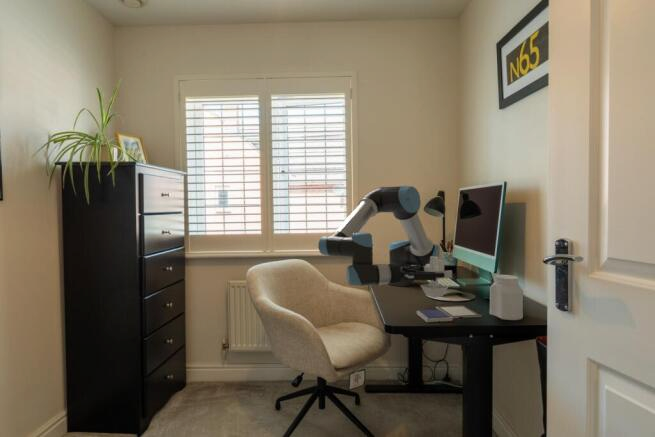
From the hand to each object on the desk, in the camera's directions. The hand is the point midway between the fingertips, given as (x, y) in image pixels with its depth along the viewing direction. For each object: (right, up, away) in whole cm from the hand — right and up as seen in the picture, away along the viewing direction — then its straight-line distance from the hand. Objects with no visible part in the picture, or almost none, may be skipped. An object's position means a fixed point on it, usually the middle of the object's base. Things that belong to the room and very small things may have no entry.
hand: (445, 271), depth 136 cm
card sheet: (+7, -17, +7) cm, 20 cm away
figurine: (-4, -9, 0) cm, 10 cm away
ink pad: (-4, -18, 0) cm, 18 cm away
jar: (+24, -17, +2) cm, 29 cm away
